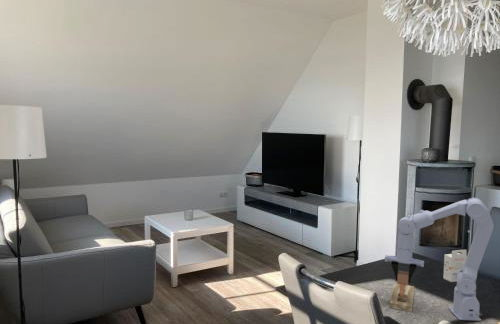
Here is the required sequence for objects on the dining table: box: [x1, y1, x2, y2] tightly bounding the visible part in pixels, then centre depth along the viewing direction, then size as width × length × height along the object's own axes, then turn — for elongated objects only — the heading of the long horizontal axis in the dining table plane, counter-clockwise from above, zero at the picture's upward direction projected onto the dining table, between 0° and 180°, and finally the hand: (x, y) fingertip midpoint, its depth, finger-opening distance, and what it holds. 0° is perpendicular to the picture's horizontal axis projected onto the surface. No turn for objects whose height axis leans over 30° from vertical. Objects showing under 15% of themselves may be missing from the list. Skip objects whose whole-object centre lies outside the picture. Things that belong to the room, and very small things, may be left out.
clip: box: [396, 270, 409, 297], centre depth 163 cm, size 4×7×8 cm, turn 156°
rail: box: [389, 282, 415, 312], centre depth 167 cm, size 8×22×2 cm, turn 156°
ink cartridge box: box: [442, 249, 468, 283], centre depth 189 cm, size 9×5×15 cm, turn 105°
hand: (402, 281), depth 163 cm, fingers closed on clip, 4 cm apart
